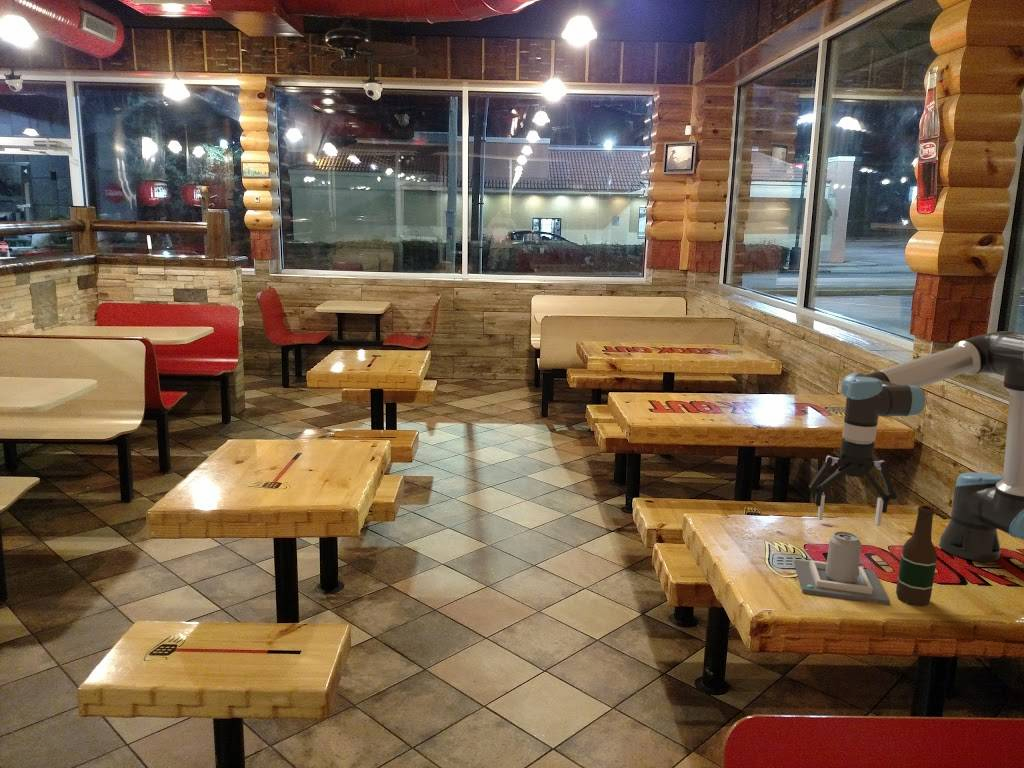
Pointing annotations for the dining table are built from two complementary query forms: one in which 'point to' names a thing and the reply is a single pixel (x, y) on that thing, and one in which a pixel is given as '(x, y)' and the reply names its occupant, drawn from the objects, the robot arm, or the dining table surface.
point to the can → (843, 557)
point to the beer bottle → (918, 562)
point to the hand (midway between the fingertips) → (848, 521)
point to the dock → (820, 584)
